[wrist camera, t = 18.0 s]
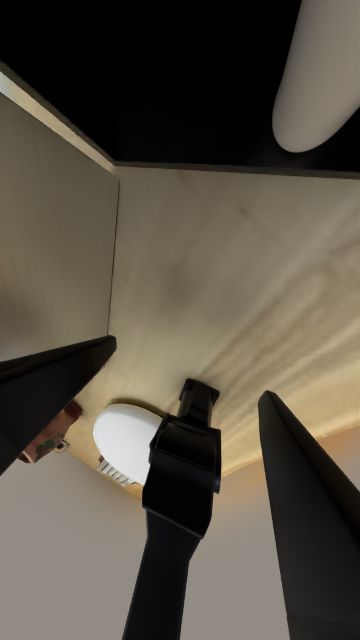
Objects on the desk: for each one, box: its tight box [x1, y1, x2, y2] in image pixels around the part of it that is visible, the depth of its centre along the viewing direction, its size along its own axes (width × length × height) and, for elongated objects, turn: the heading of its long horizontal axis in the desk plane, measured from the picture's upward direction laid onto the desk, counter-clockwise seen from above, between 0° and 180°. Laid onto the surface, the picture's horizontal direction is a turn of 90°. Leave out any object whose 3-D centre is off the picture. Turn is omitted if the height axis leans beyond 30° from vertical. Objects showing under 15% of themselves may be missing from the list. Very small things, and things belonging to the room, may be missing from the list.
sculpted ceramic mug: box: [18, 401, 81, 464], centre depth 40 cm, size 20×12×14 cm, turn 151°
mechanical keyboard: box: [97, 456, 136, 487], centre depth 52 cm, size 38×19×3 cm, turn 151°
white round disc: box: [93, 404, 162, 485], centre depth 36 cm, size 28×6×27 cm
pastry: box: [53, 441, 68, 453], centre depth 67 cm, size 9×7×4 cm
